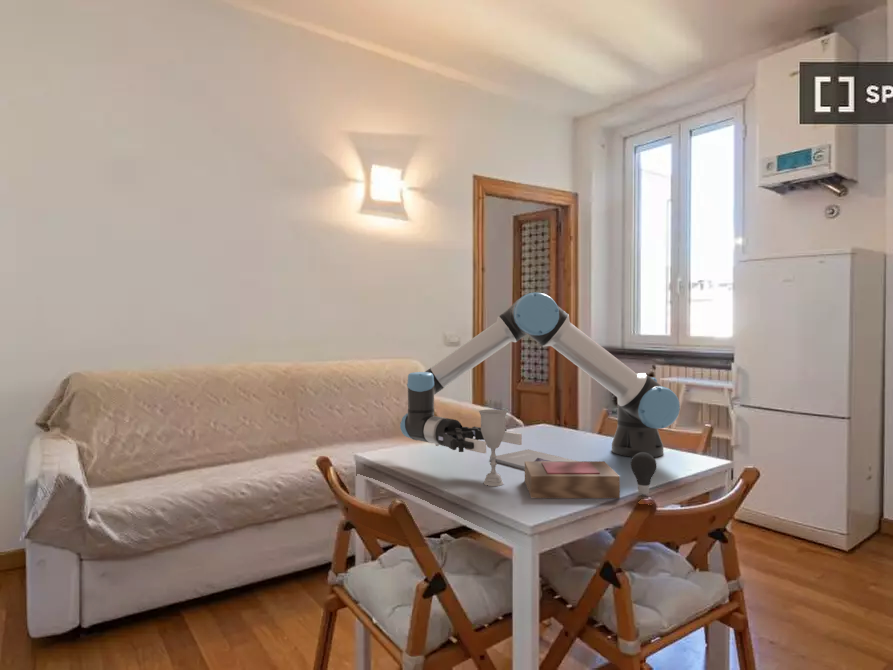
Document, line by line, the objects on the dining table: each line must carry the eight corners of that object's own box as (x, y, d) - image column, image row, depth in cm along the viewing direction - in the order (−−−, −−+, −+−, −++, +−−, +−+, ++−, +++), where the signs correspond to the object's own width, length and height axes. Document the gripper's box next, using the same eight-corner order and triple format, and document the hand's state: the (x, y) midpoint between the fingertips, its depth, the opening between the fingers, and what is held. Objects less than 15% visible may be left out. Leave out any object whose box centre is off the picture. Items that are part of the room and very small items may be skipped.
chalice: (513, 483, 140) (512, 411, 140) (497, 489, 135) (496, 414, 135) (490, 477, 145) (489, 408, 145) (473, 483, 140) (472, 411, 140)
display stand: (604, 481, 141) (604, 460, 141) (619, 498, 127) (619, 475, 127) (524, 481, 142) (524, 460, 142) (531, 498, 128) (531, 474, 128)
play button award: (528, 449, 173) (580, 461, 158) (528, 454, 173) (580, 467, 158) (489, 457, 163) (541, 471, 148) (489, 462, 163) (541, 476, 148)
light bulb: (638, 500, 126) (638, 455, 125) (626, 492, 131) (626, 450, 131) (661, 498, 126) (661, 454, 126) (648, 491, 132) (648, 449, 132)
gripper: (475, 439, 161) (534, 450, 146) (409, 452, 144) (468, 467, 129) (475, 413, 161) (534, 421, 146) (409, 423, 144) (468, 435, 129)
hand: (503, 443), depth 137 cm, fingers open, 12 cm apart
